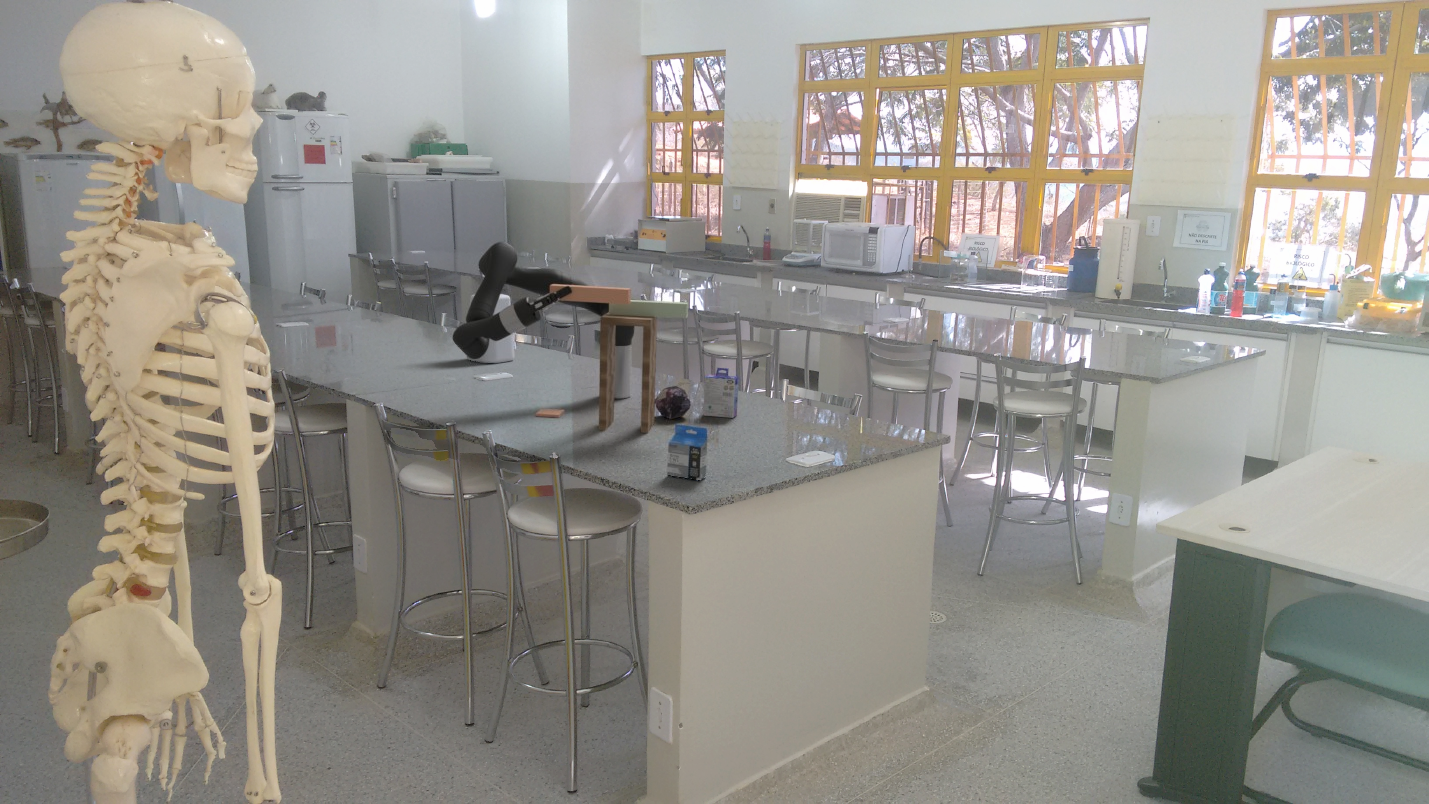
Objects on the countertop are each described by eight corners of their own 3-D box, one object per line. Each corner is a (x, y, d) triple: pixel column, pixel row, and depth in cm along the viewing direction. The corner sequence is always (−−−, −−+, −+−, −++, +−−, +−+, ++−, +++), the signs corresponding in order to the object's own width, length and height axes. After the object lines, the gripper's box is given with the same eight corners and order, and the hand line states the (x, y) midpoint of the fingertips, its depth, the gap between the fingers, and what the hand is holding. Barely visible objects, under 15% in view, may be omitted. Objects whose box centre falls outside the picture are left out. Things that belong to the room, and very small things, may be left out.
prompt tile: (541, 411, 313) (541, 408, 313) (564, 412, 313) (564, 409, 312) (535, 416, 306) (535, 413, 306) (558, 417, 306) (558, 414, 306)
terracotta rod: (553, 298, 291) (553, 284, 290) (630, 302, 289) (630, 288, 289) (549, 299, 287) (549, 285, 286) (628, 304, 286) (628, 289, 285)
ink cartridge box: (737, 414, 319) (739, 368, 316) (734, 418, 313) (736, 371, 310) (706, 412, 321) (708, 366, 318) (702, 416, 315) (704, 369, 312)
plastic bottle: (491, 355, 407) (491, 284, 402) (519, 360, 399) (519, 287, 393) (462, 359, 395) (461, 286, 390) (489, 365, 387) (489, 290, 381)
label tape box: (666, 476, 249) (667, 426, 246) (673, 472, 252) (675, 423, 250) (699, 481, 245) (701, 431, 243) (706, 477, 249) (708, 428, 246)
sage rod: (611, 312, 296) (611, 298, 295) (687, 316, 294) (688, 302, 294) (608, 314, 292) (609, 300, 292) (686, 318, 290) (686, 304, 290)
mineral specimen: (650, 407, 316) (664, 377, 315) (681, 421, 317) (695, 392, 316) (649, 413, 307) (664, 382, 305) (681, 427, 308) (696, 397, 306)
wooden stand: (607, 420, 304) (608, 312, 297) (654, 423, 303) (657, 314, 296) (598, 430, 292) (600, 317, 286) (647, 432, 291) (650, 319, 285)
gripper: (506, 306, 283) (560, 278, 281) (520, 301, 297) (571, 273, 294) (519, 330, 285) (573, 302, 282) (532, 324, 298) (584, 297, 295)
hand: (572, 288), depth 288 cm, fingers closed on terracotta rod, 4 cm apart
